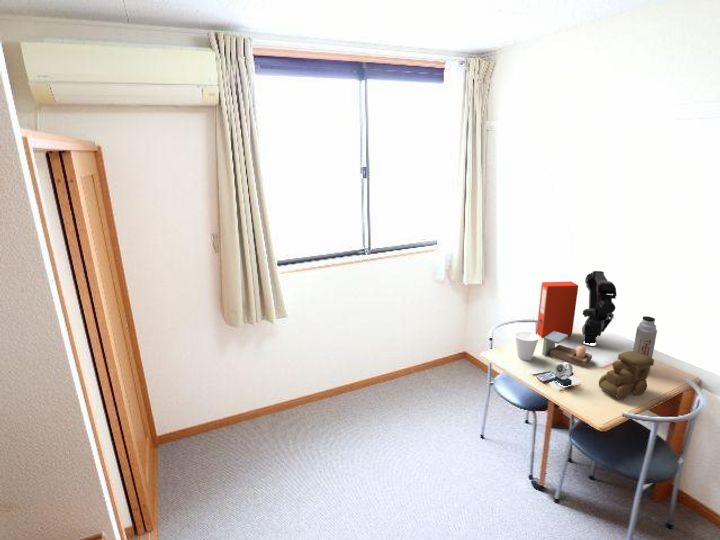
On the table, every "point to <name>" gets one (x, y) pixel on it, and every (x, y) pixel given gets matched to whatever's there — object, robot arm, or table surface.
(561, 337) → the awning
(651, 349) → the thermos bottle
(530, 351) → the cup
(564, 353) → the socket block
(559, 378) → the watch
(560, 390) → the table surface
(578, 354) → the peg
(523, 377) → the table surface
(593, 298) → the robot arm
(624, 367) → the wooden toy train
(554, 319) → the file binder
